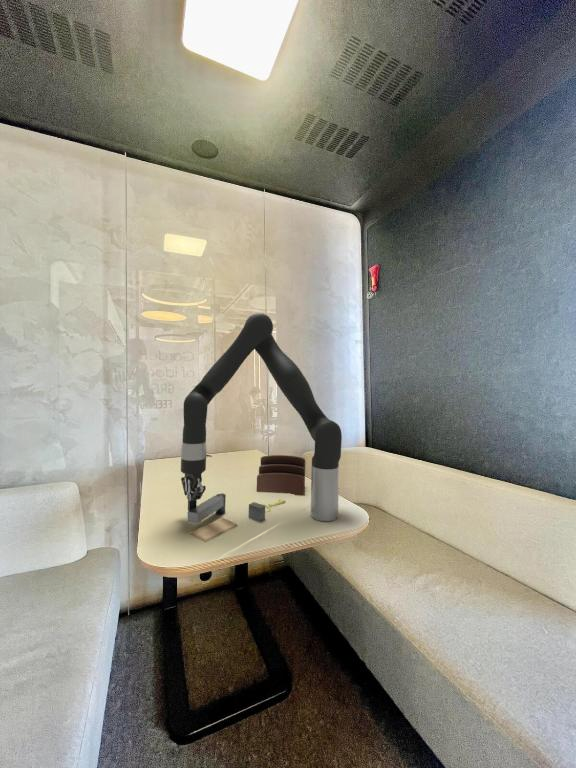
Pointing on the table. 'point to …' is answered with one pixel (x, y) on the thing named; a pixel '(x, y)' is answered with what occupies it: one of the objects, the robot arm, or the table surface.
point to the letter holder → (281, 475)
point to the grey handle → (207, 508)
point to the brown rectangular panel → (213, 529)
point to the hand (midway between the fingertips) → (191, 510)
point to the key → (274, 504)
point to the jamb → (257, 512)
